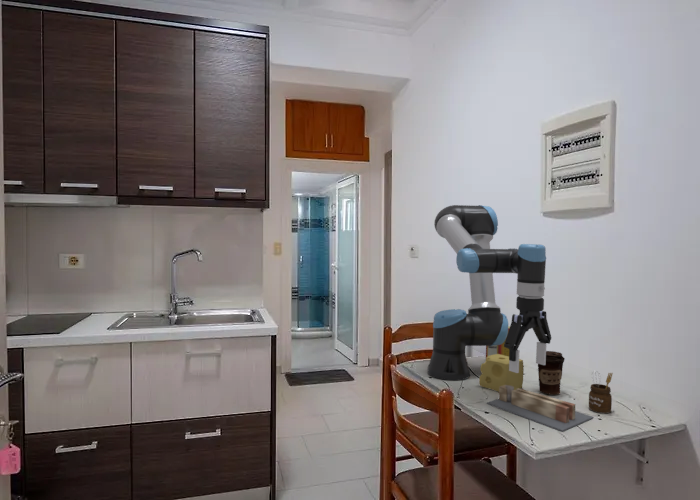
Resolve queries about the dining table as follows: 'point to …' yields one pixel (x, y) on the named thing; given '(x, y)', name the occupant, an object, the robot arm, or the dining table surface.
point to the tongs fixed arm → (534, 403)
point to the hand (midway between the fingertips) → (527, 367)
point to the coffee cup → (551, 373)
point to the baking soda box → (497, 349)
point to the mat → (541, 416)
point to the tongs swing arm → (571, 405)
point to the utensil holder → (600, 396)
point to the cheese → (500, 373)
